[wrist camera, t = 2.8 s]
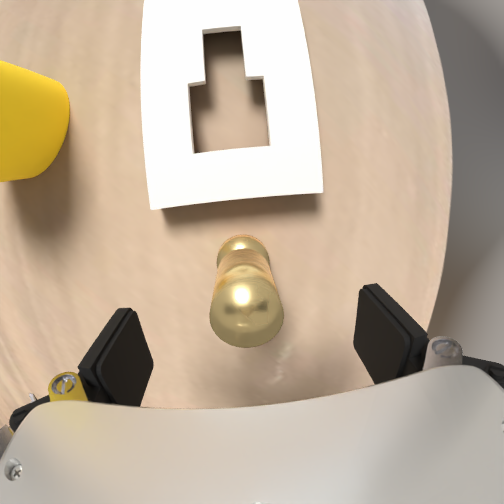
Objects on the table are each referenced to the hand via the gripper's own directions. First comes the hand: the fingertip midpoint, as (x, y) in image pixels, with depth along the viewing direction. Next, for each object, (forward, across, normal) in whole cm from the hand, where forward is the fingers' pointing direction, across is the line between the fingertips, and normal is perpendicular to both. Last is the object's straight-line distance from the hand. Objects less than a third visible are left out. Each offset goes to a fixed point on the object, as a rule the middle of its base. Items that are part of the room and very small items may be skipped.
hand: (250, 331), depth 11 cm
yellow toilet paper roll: (+12, +19, -14) cm, 27 cm away
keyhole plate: (+12, 0, -13) cm, 18 cm away
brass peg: (+11, 0, +1) cm, 11 cm away
